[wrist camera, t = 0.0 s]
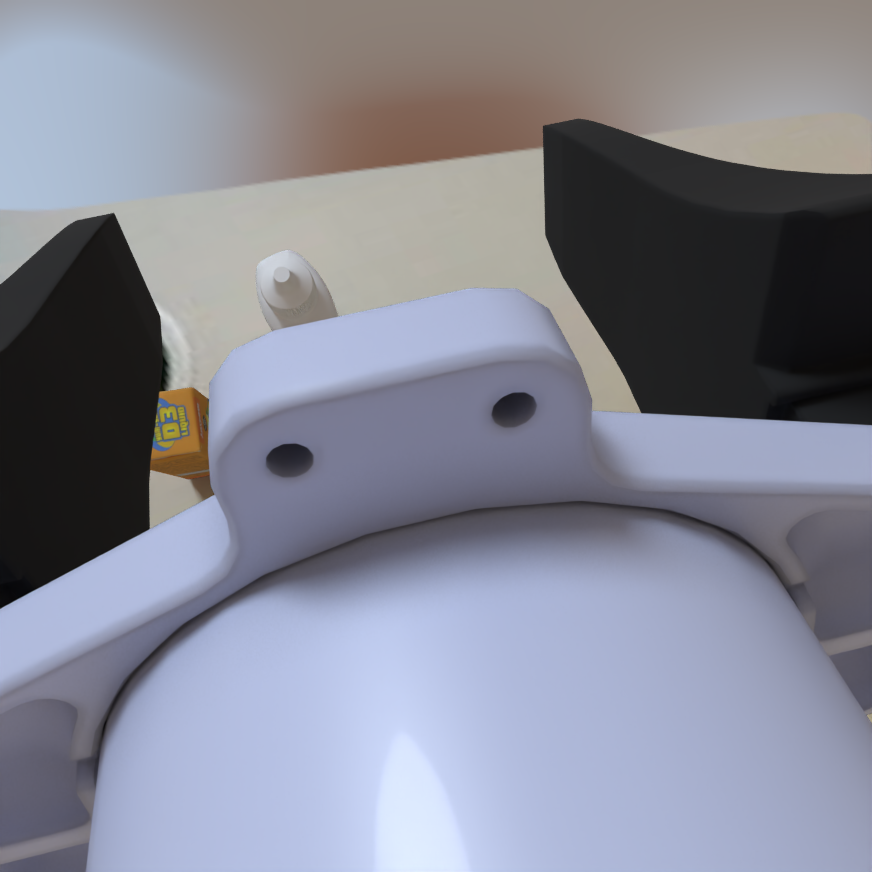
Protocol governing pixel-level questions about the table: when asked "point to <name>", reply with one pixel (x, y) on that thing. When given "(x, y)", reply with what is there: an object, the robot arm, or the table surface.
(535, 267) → the table surface
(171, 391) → the supplement box
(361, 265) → the table surface
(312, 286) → the eye dropper bottle
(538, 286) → the table surface
